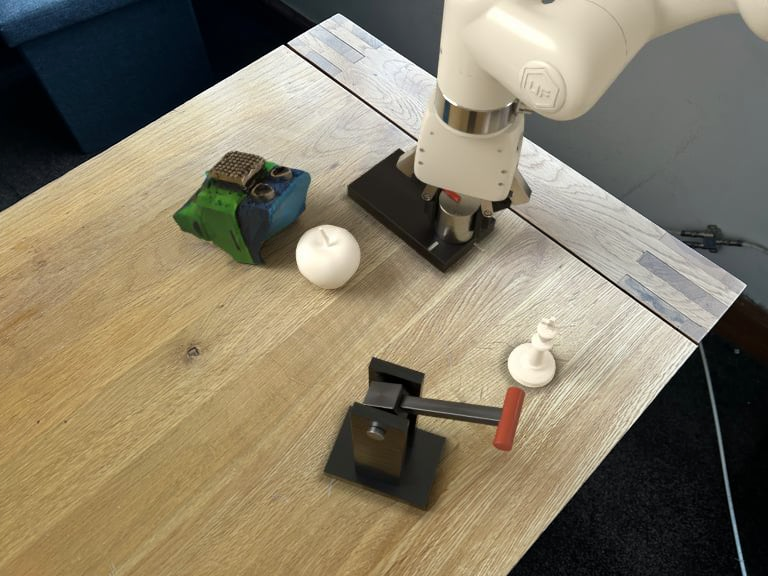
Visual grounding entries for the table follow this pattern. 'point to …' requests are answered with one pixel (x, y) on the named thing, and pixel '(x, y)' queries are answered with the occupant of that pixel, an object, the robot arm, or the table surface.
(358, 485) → the lever bracket
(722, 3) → the robot arm
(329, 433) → the table surface
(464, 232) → the knob
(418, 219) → the dial panel
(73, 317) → the table surface
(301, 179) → the sculpture
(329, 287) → the plain white apple
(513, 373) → the chess piece
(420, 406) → the lever
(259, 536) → the table surface
